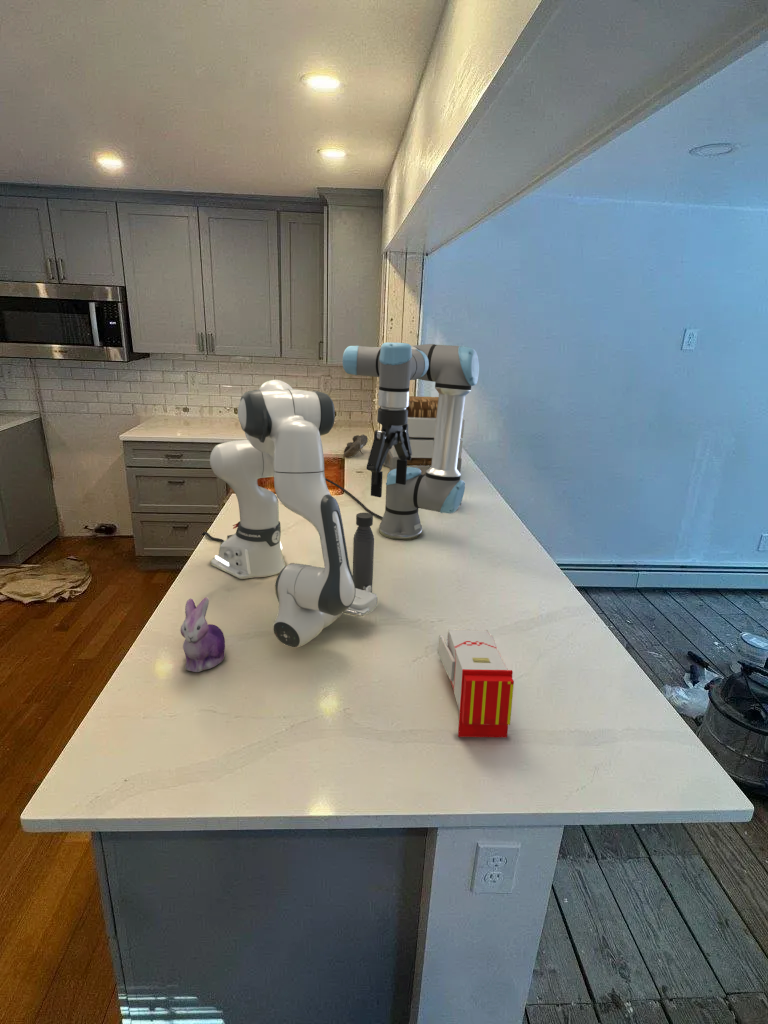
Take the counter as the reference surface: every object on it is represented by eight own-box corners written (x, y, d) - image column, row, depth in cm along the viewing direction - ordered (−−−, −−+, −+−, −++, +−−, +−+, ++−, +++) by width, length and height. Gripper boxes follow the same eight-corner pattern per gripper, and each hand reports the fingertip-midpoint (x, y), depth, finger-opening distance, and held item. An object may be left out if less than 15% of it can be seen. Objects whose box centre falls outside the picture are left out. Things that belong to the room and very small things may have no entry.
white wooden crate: (382, 463, 289) (386, 382, 275) (445, 464, 293) (451, 384, 279) (390, 482, 257) (394, 392, 243) (460, 483, 261) (468, 394, 247)
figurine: (186, 679, 118) (181, 616, 113) (179, 653, 127) (173, 593, 122) (232, 668, 122) (228, 607, 117) (221, 644, 131) (218, 585, 126)
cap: (354, 521, 150) (354, 513, 149) (370, 520, 151) (370, 512, 150) (358, 527, 146) (358, 518, 145) (374, 526, 147) (374, 517, 146)
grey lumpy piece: (343, 440, 315) (365, 425, 310) (354, 454, 317) (375, 439, 312) (337, 454, 295) (359, 438, 290) (348, 468, 298) (371, 453, 293)
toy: (488, 613, 130) (523, 677, 101) (484, 667, 133) (517, 744, 104) (435, 612, 130) (455, 676, 101) (432, 666, 133) (451, 743, 103)
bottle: (349, 592, 157) (351, 513, 149) (368, 590, 159) (371, 512, 151) (354, 602, 152) (357, 521, 144) (374, 600, 154) (377, 519, 146)
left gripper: (362, 605, 132) (389, 582, 144) (290, 583, 141) (321, 563, 153) (361, 628, 135) (387, 604, 146) (291, 605, 143) (321, 584, 155)
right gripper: (402, 400, 152) (398, 476, 159) (353, 412, 131) (351, 499, 138) (427, 403, 149) (422, 481, 156) (382, 416, 128) (378, 504, 135)
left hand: (353, 583), depth 150 cm, fingers open, 8 cm apart
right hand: (388, 489), depth 147 cm, fingers open, 13 cm apart
